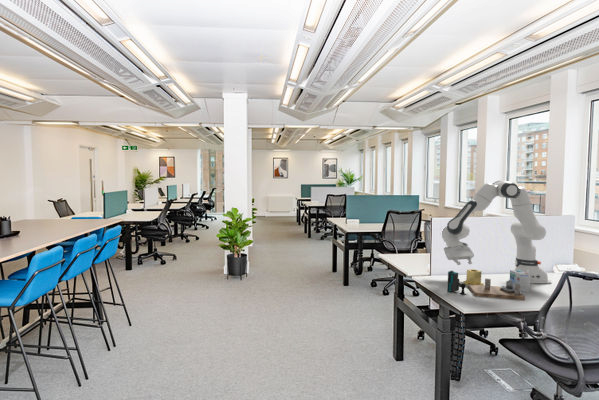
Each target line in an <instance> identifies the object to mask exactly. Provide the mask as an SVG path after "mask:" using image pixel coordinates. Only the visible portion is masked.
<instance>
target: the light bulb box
mask: <svg viewBox="0 0 599 400" xmlns="http://www.w3.org/2000/svg"><path fill="white" fill-rule="evenodd" d="M530 275H531V274H529V273H526V272H524V271H521V270H515V269H510V270H509V280H511V281H512V282H513V288H515V284H521V292H530V289H531V288H530V287H531V286H530V285H531V283H530Z"/></svg>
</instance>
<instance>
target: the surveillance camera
mask: <svg viewBox="0 0 599 400" xmlns="http://www.w3.org/2000/svg"><path fill="white" fill-rule="evenodd" d="M466 286H467V285H466V284H464V283H460V279H459V273H458V272H455V271H454V270H449V271H447V289H446V292H448V293H449V292H451V291H452V292H459V291H460V288H461V291H460V292H459V293H458V295H459V296H460V295H461V296H467V295H468V293H465V289H466Z"/></svg>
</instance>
